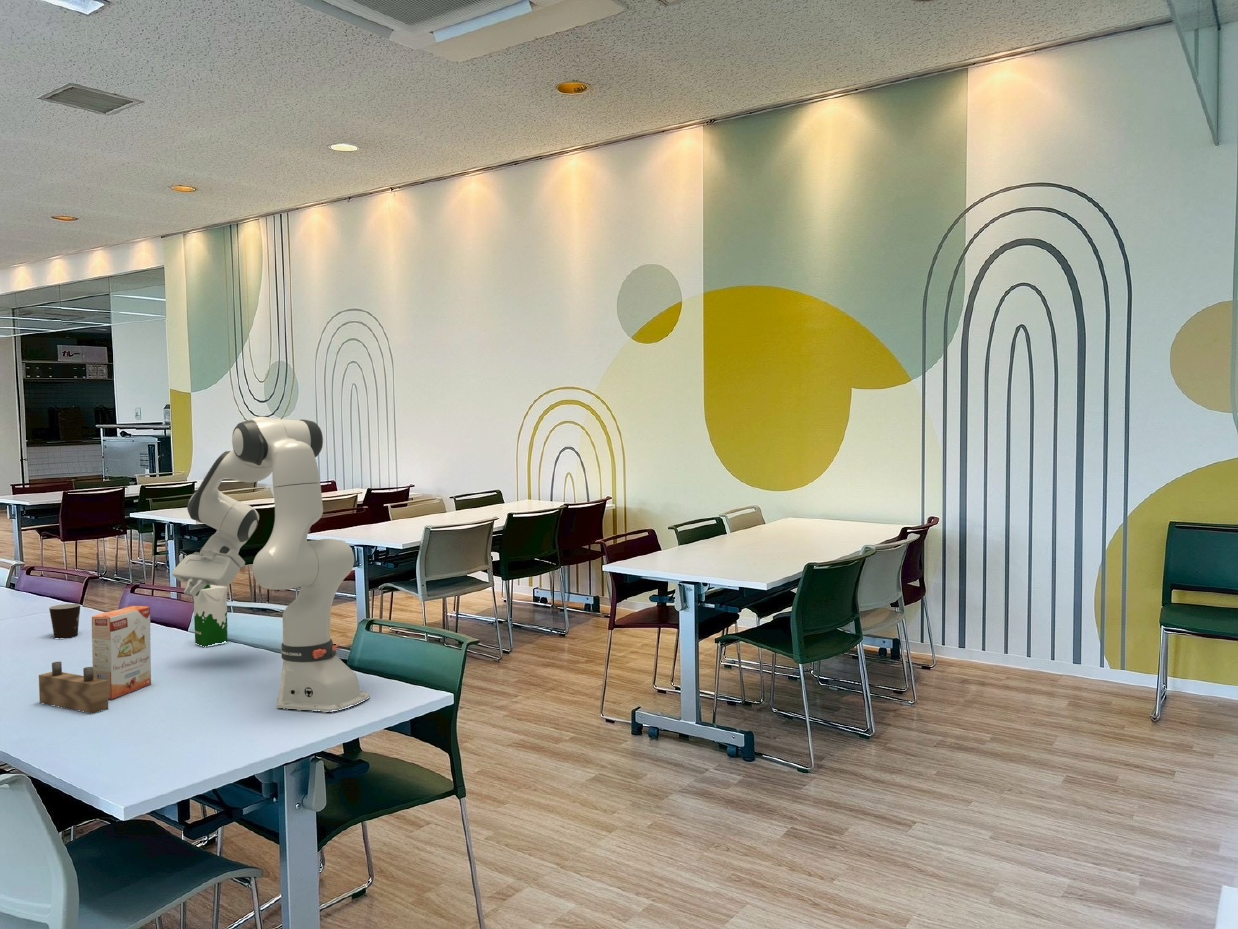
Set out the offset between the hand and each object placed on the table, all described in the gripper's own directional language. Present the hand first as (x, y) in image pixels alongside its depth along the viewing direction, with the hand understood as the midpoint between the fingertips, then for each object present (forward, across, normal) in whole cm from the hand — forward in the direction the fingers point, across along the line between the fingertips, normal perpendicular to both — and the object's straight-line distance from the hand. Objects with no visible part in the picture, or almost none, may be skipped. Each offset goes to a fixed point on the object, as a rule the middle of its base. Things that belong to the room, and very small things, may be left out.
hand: (188, 594), depth 245 cm
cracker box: (+30, 0, +1) cm, 30 cm away
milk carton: (-2, -22, +33) cm, 40 cm away
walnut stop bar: (+38, 0, -8) cm, 39 cm away
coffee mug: (+6, -74, +26) cm, 79 cm away
